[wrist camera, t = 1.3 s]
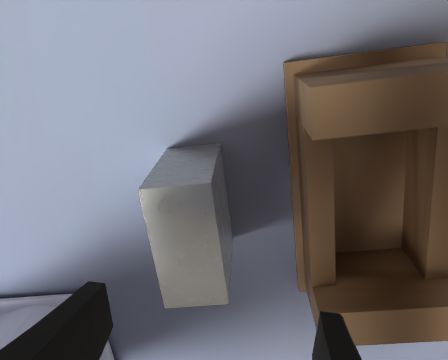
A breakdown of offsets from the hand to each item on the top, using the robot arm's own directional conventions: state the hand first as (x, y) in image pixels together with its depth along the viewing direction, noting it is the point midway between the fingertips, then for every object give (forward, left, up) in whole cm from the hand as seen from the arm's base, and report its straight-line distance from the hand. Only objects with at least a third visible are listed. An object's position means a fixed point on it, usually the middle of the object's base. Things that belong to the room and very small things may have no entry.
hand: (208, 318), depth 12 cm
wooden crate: (+8, 0, -10) cm, 12 cm away
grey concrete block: (-1, 0, -10) cm, 10 cm away
